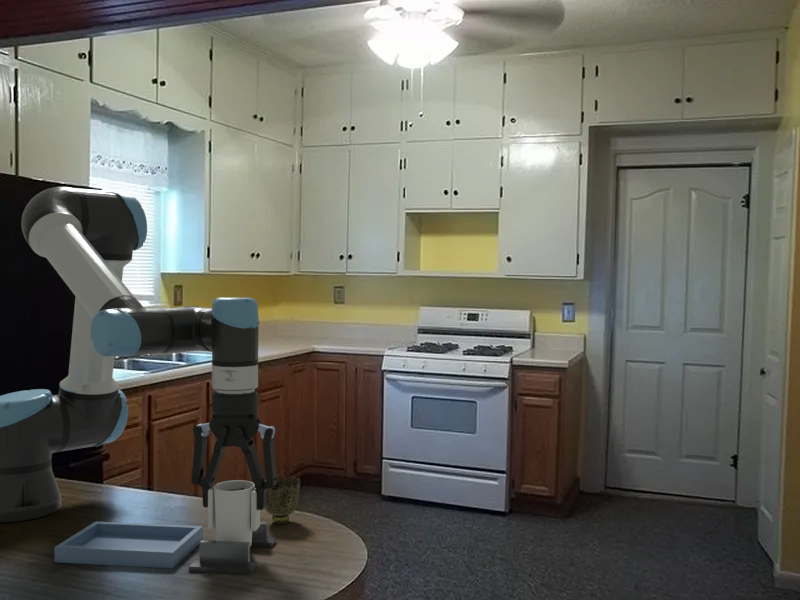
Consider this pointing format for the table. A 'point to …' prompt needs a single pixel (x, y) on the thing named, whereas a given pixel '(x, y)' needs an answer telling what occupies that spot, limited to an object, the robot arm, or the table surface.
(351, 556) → the table surface
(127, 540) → the tray
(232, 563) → the bracket
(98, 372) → the robot arm
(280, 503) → the cup
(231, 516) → the white tumbler
